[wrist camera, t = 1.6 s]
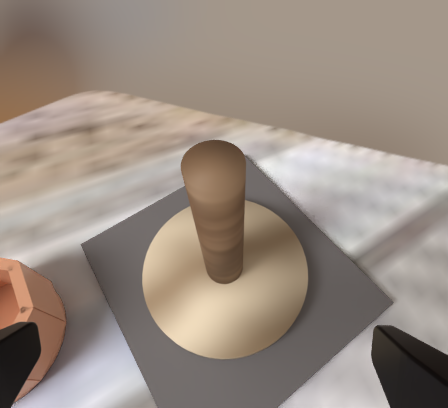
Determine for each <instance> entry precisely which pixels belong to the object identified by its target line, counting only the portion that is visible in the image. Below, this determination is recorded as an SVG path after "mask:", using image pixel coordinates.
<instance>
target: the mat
mask: <svg viewBox="0 0 448 408" xmlns="http://www.w3.org/2000/svg"><path fill="white" fill-rule="evenodd" d="M244 156H245V155H244ZM245 159H246V184H245V200H247V201H250V202H253V203H256V204H259V205H261V206H263V207H265V208H267V209H269V210H271V211H272V212H274V213H275V214H276V215H278V216H279V217H280V218H281V219H282V220H283V221H285V222H286V223H287V224H288V226H289V227H290V228H291V229H292V230H293V232H294V233H295V235H296V236H297V238H298V240H299V242H300V244H301V246H302V248H303V251H304V254H305V257H306V262H307V267H308V286H307V292H306V296H305V301H304V303H303V306H302V308H301V311H300V312H299V314H298V316H297V318H296V319H295V321H294V322H293V324H292V325H291V326H290V328H289V329H288V330H287V331H286V333H285V334H284V335H283V336H282V337H281V338H280V339H279V340H277V341H276V342H275V343H273V344H272V345H271V346H269V347H268V348H266V349H264V350H262V351H260V352H258V353H256V354H253V355H250V356H247V357H243V358H238V359H226V360H220V359H212V358H207V357H203V356H199V355H196V354H194V353H192V352H189V351H187V350H185V349H184V348H182V347H181V346H179V345H178V344H176V343H175V342H174V341H173V340H172V339H170V338H169V337H168V336H167V335H166V334H165V333H164V332H163V331H162V330H161V329H160V327H159V326H158V325H157V324H156V322H155V320H154V319H153V317H152V316H151V313H150V311H149V309H148V307H147V304H146V301H145V297H144V292H143V285H142V273H143V265H144V261H145V257H146V254H147V251H148V249H149V246H150V244H151V242H152V241H153V239H154V237H155V236H156V234H157V233H158V232H159V230H160V229H161V228H162V227H163V226H164V224H165V223H166V222H167V221H168V220H170V219H171V218H172V217H173V216H174V215H176V214H177V213H179V212H180V211H182V210H183V209H185V208H187V207H189V206H190V203H189V199H188V195H187V191H186V187H185V186H184V187H182V188H180V189H179V190H177V191H175V192H173V193H171V194H170V195H168V196H166V197H164V198H163V199H161V200H159V201H157V202H155V203H154V204H152V205H150V206H148V207H146V208H145V209H143V210H141V211H139V212H138V213H136V214H134V215H132V216H130V217H129V218H127V219H125V220H123V221H122V222H120V223H118V224H116V225H114V226H113V227H111V228H109V229H107V230H106V231H104V232H102V233H100V234H98V235H97V236H95V237H93V238H91V239H90V240H88V241H86V242H84V243H82V244H81V246H82V248H83V250H84V252H85V254H86V257H87V259H88V261H89V263H90V265H91V267H92V269H93V271H94V274H95V276H96V278H97V280H98V282H99V284H100V286H101V288H102V291H103V293H104V295H105V297H106V299H107V301H108V303H109V305H110V307H111V310H112V312H113V314H114V316H115V318H116V320H117V322H118V324H119V327H120V329H121V331H122V333H123V335H124V337H125V339H126V341H127V344H128V346H129V348H130V350H131V352H132V354H133V356H134V358H135V361H136V363H137V365H138V367H139V369H140V371H141V373H142V375H143V377H144V380H145V382H146V384H147V386H148V388H149V390H150V392H151V394H152V397H153V399H154V401H155V403H156V405H157V407H158V408H277V407H278V406H279V405H280V404H281V403H282V402H283V401H285V400H286V399H287V398H288V397H289V396H290V395H291V394H292V393H293V392H295V391H296V390H297V389H298V388H299V387H300V386H301V385H302V384H303V383H305V382H306V381H307V380H308V379H309V378H310V377H311V376H312V375H313V374H315V373H316V372H317V371H318V370H319V369H320V368H321V367H322V366H323V365H325V364H326V363H327V362H328V361H329V360H330V359H331V358H332V357H333V356H335V355H336V354H337V353H338V352H339V351H340V350H341V349H342V348H343V347H345V346H346V345H347V344H348V343H349V342H350V341H351V340H352V339H353V338H355V337H356V336H357V335H358V334H359V333H360V332H361V331H362V330H363V329H365V328H366V327H367V326H368V325H369V324H370V323H371V322H372V321H373V320H375V319H376V318H377V317H378V316H379V315H380V314H381V313H382V312H383V311H385V310H386V309H387V308H388V307H389V306H390V305H391V304H392V303H393V301H392V300H391V299H390V298H389V297H388V296H387V295H386V294H385V293H384V292H383V291H382V290H381V289H380V288H379V287H378V286H377V285H375V284H374V283H373V282H372V281H371V280H370V279H369V278H368V277H367V276H366V275H365V274H364V273H363V272H362V271H361V270H360V269H359V268H358V267H357V266H356V265H355V264H354V263H353V262H352V261H351V260H350V259H349V258H348V257H347V256H346V255H345V254H344V253H343V252H342V251H341V250H340V249H339V248H338V247H337V246H336V245H335V244H334V243H333V242H332V241H331V240H330V239H329V238H328V237H327V236H326V235H325V234H324V233H323V232H322V231H321V230H320V229H319V228H318V227H317V226H316V225H315V224H314V223H313V222H312V221H311V220H310V219H309V218H308V217H307V216H306V215H305V214H303V213H302V212H301V211H300V210H299V209H298V208H297V207H296V206H295V205H294V204H293V203H292V202H291V201H290V200H289V199H288V198H287V197H286V196H285V195H284V194H283V193H282V192H281V191H280V190H279V189H278V188H277V187H276V186H275V185H274V184H273V183H272V182H271V181H270V180H269V179H268V178H267V177H266V176H265V175H264V174H263V173H262V172H261V171H260V170H259V169H258V168H257V167H256V166H255V165H254V164H253V163H252V162H251V161H250V160H249V159H248V158H247V157H246V156H245Z"/></svg>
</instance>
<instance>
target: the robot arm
mask: <svg viewBox="0 0 448 408" xmlns="http://www.w3.org/2000/svg"><path fill="white" fill-rule="evenodd" d="M40 355H41V342H40V336H39V330H38V325H37V324H36V323H35V322H17V323H15V324H12V325H10V326H7V327H5V328H3V329H0V408H11V406H12V405H13V403H14V401H15V399H16V398H17V396H18V394H19V392H20V391H21V389H22V387H23V386H24V384H25V382H26V380H27V379H28V377H29V375H30V373H31V372H32V370H33V368H34V367H35V365H36V363H37V361H38V360H39V358H40ZM371 357H372V362H373V365H374V367H375V370H376V373H377V375H378V378H379V380H380V383H381V385H382V388H383V390H384V393H385V395H386V398H387V400H388V403H389V405H390V408H448V355H446V354H445V353H443V352H441V351H439V350H437V349H435V348H433V347H431V346H430V345H428V344H426V343H424V342H422V341H420V340H418V339H416V338H415V337H413V336H411V335H409V334H407V333H405V332H403V331H402V330H400V329H398V328H396V327H394V326H391V325H377V326H376V327H375V328H374V331H373V341H372V351H371Z"/></svg>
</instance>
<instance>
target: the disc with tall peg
mask: <svg viewBox="0 0 448 408" xmlns="http://www.w3.org/2000/svg"><path fill="white" fill-rule="evenodd" d="M181 171H182V175H183V179H184V183H185V187H186V191H187V195H188V199H189V203H190V206H189V207H187V208H185V209H183V210H182V211H180V212H179V213H177V214H176V215H174V216H173V217H172V218H171V219H170V220H168V221H167V222H166V223H165V224H164V226H163V227H162V228H161V229H160V230H159V232H158V233H157V234H156V236H155V237H154V239H153V241H152V242H151V244H150V246H149V249H148V251H147V254H146V257H145V261H144V265H143V273H142V285H143V292H144V297H145V301H146V304H147V307H148V309H149V311H150V313H151V316H152V317H153V319H154V320H155V322H156V324H157V325H158V326H159V327H160V329H161V330H162V331H163V332H164V333H165V334H166V335H167V336H168V337H169V338H170V339H172V340H173V341H174V342H175V343H176V344H178V345H179V346H181V347H182V348H184V349H185V350H187V351H189V352H192V353H194V354H196V355H199V356H203V357H207V358H212V359H220V360H226V359H238V358H243V357H247V356H250V355H253V354H256V353H258V352H260V351H262V350H264V349H266V348H268V347H269V346H271V345H272V344H273V343H275V342H276V341H277V340H279V339H280V338H281V337H282V336H283V335H284V334H285V333H286V331H287V330H288V329H289V328H290V326H291V325H292V324H293V322H294V321H295V319H296V318H297V316H298V314H299V312H300V311H301V308H302V306H303V303H304V301H305V296H306V292H307V286H308V267H307V262H306V257H305V254H304V251H303V248H302V246H301V244H300V242H299V240H298V238H297V236H296V235H295V233H294V232H293V230H292V229H291V228H290V227H289V226H288V224H287V223H286V222H285V221H283V220H282V219H281V218H280V217H279V216H278V215H276V214H275V213H274V212H272V211H271V210H269V209H267V208H265V207H263V206H261V205H259V204H256V203H253V202H250V201H247V200H245V184H246V159H245V156H244V154H243V152H242V151H241V150H240V149H239V148H238V147H237V146H235V145H234V144H232V143H229V142H226V141H221V140H209V141H204V142H201V143H198V144H196V145H195V146H193V147H192V148H190V149H189V150H188V151H187V152H186V153H185V155H184V156H183V159H182V162H181Z"/></svg>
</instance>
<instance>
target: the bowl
mask: <svg viewBox="0 0 448 408" xmlns="http://www.w3.org/2000/svg"><path fill="white" fill-rule="evenodd" d="M17 322H35V323H36V324H37V325H38V330H39V336H40V342H41V355H40V358H39V360H38V361H37V363H36V365H35V367H34V368H33V370H32V372H31V373H30V375H29V377H28V379H27V380H26V382H25V384H24V386H23V387H22V389H21V391H20V392H19V394H18V396H17V398H16V399H15V401H14V403H15V402H16V401H18V400H19V399H21V398H22V397H23V396H25V395H26V394H27V393H29V392H30V391H31V390H32V389H33V388H34V387H35V386H36V385H37V384H38V383H39V382H40V381H41V380H42V378H43V377H44V376H45V374H46V373H47V372H48V370H49V369H50V367H51V366H52V364H53V363H54V361H55V359H56V357H57V355H58V353H59V351H60V348H61V345H62V343H63V339H64V335H65V328H66V322H67V321H66V314H65V308H64V305H63V302H62V300H61V298H60V297H59V295H58V294H57V292H56V291H55V290H54V287H53V284H52V282H51V281H49V280H48V279H46V278H45V277H43V276H42V275H40V274H38V273H37V272H35V271H34V270H32V269H30V268H29V267H27V266H26V265H24V264H22V263H21V262H19V261H17V260H11V259H5V258H0V329H3V328H5V327H7V326H10V325H12V324H15V323H17Z"/></svg>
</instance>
